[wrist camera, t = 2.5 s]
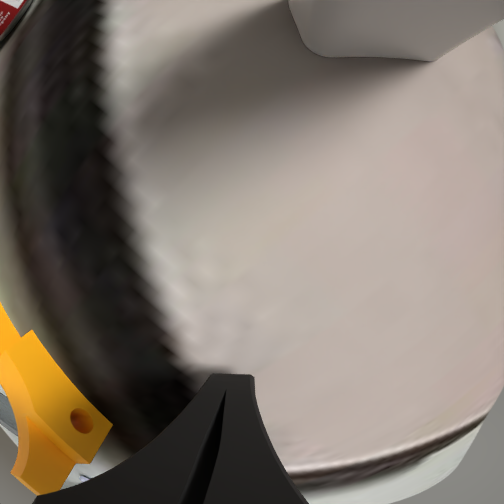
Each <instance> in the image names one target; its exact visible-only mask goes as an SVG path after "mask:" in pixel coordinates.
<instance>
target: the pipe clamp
mask: <svg viewBox="0 0 504 504" xmlns="http://www.w3.org/2000/svg"><path fill="white" fill-rule="evenodd" d="M0 384H1V386H2V387H3V389H4V391H5V393H6V395H7V397H8V399H9V402H10V404H11V407H12V409H13V412H14V415H15V419H16V423H17V429H18V439H19V446H18V455H17V459H16V463H15V465H14V467H13V469H12V471H11V474H13V475H14V476H15V477H16V478H17V479H18V480H19V481H20V482H21V483H22V484H24V485H25V486H26V487H27V488H28V489H30V490H31V491H32V492H33V493H35V494H36V495H37V496H38V495H43V494H47V493H51V492H55V491H59V490H60V489H61V487H62V485H63V484H64V482H65V480H66V479H67V477H68V475H69V474H70V472H71V470H72V469H73V467H74V465H75V464H76V463H78V464H90V463H91V461H92V460H93V458H94V456H95V454H96V453H97V451H98V449H99V448H100V446H101V444H102V442H103V441H104V439H105V437H106V436H107V434H108V432H109V431H110V429H111V427H112V426H113V424H112V423H111V422H109V421H108V420H107V419H106V418H105V417H104V416H103V415H102V414H101V413H100V412H99V411H98V410H97V409H96V408H95V407H94V406H93V405H92V404H91V403H90V402H89V401H88V400H87V399H86V398H85V397H84V395H83V394H82V393H81V392H80V391H79V390H78V389H77V388H76V387H75V385H74V384H73V383H72V382H71V381H70V380H69V378H68V377H67V376H66V375H65V374H64V372H63V371H62V370H61V369H60V368H59V366H58V365H57V364H56V362H55V361H54V360H53V359H52V357H51V356H50V355H49V353H48V352H47V351H46V349H45V348H44V346H43V345H42V344H41V342H40V341H39V339H38V338H37V336H36V335H35V333H34V332H33V330H31V331H30V332H28V333H27V334H25V335H24V336H23V337H20V335H19V334H18V332H17V331H16V329H15V327H14V326H13V324H12V322H11V321H10V319H9V317H8V316H7V314H6V312H5V310H4V309H3V307H2V305H1V303H0Z"/></svg>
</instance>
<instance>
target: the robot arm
mask: <svg viewBox="0 0 504 504" xmlns="http://www.w3.org/2000/svg"><path fill="white" fill-rule="evenodd" d="M79 479H80V480H81V481H82V482H83V483H80V484H78V485H75V486H72V487H69V488H66V489H62V490H59V491H55V492H51V493H47V494H43V495H38V496H37V497H36V499H35V500H34V502H33V503H32V504H309V503H308V502H307V501H306V499H305V498H304V497H303V495H302V494H301V493H300V491H299V490H298V489H297V487H296V486H295V484H294V483H293V481H292V480H291V478H290V476H289V475H288V473H287V472H286V470H285V468H284V466H283V465H282V463H281V461H280V459H279V457H278V456H277V454H276V452H275V450H274V448H273V445H272V443H271V441H270V439H269V436H268V434H267V432H266V429H265V427H264V424H263V421H262V418H261V415H260V412H259V409H258V405H257V401H256V397H255V382H254V377H253V376H252V375H245V374H212V375H211V376H210V377H209V378H208V380H207V381H206V382H205V384H204V385H203V386H202V388H201V389H200V390H199V392H198V393H197V394H196V395H195V397H194V398H193V399H192V400H191V402H190V403H189V404H188V405H187V406H186V407H185V408H184V409H183V411H182V412H181V413H180V414H179V415H178V416H177V417H176V418H175V419H174V420H173V421H172V422H171V423H170V424H169V425H168V426H167V427H166V428H165V429H164V430H163V431H162V432H161V433H160V434H159V435H158V436H157V437H156V438H154V439H153V440H152V441H151V442H150V443H148V444H147V445H146V446H145V447H143V448H142V449H141V450H139V451H138V452H137V453H135V454H134V455H133V456H131V457H130V458H128V459H126V460H125V461H123V462H122V463H120V464H119V465H117V466H115V467H114V468H112V469H110V470H108V471H106V472H105V473H103V474H100V475H98V476H96V477H94V478H92V479H88V478H86V477H83V476H80V478H79Z"/></svg>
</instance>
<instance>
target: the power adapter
mask: <svg viewBox="0 0 504 504" xmlns="http://www.w3.org/2000/svg"><path fill="white" fill-rule="evenodd" d="M288 6H289V9H290V11H291V13H292V16H293V18H294V21H295V23H296V26H297V28H298V31H299V33H300V36H301V39H302V41H303V43H304V44H305V46H306V47H307V48H308V49H310V50H311V51H312V52H314V53H315V54H318V55H320V56H324V57H334V58H335V57H386V58H401V59H412V60H421V61H436V60H438V59H439V58H441V57H442V56H444V55H445V54H447V53H448V52H450V51H451V50H453V49H455V48H456V47H458V46H459V45H461V44H462V43H464V42H466V41H467V40H469V39H471V38H472V37H474V36H476V35H477V34H479V33H481V32H482V31H484V30H486V29H487V28H489V27H491V26H493V25H494V24H496V23H498V22H499V21H501V20H503V19H504V0H289V2H288Z"/></svg>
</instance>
